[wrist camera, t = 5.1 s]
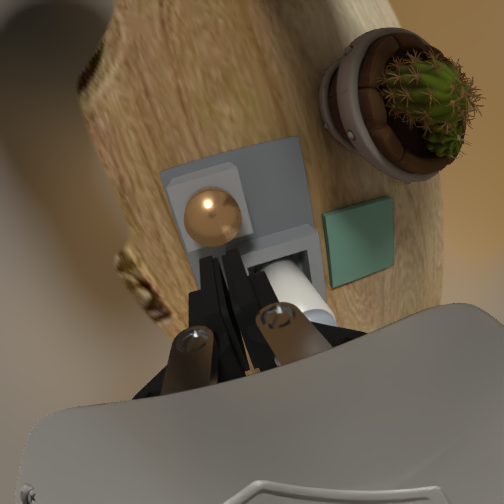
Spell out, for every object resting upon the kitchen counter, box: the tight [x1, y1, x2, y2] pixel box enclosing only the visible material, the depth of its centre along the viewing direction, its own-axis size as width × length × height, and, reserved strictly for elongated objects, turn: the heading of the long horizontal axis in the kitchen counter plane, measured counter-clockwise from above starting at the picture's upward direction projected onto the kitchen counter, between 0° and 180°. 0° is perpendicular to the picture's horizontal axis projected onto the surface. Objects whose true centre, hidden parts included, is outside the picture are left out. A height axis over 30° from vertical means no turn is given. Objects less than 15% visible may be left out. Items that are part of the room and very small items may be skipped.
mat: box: [322, 196, 394, 288], centre depth 34 cm, size 10×10×1 cm
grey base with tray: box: [160, 136, 327, 304], centre depth 29 cm, size 20×14×6 cm
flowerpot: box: [319, 28, 483, 184], centre depth 18 cm, size 14×15×20 cm
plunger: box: [184, 186, 242, 247], centre depth 24 cm, size 4×4×6 cm
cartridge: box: [255, 255, 338, 327], centre depth 27 cm, size 5×5×12 cm
